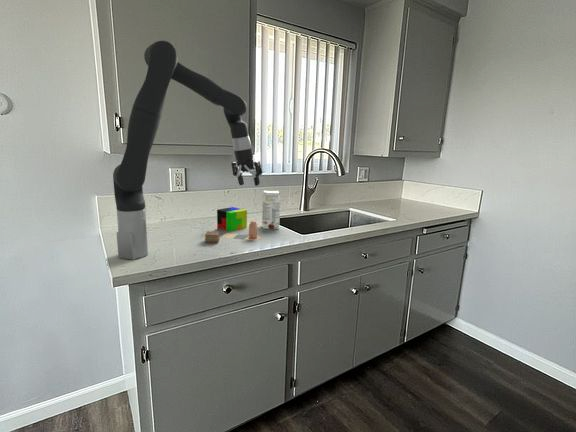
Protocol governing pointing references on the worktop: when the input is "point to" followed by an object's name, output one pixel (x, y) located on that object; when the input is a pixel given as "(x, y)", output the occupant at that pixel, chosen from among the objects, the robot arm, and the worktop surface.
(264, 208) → the white supplement bottle
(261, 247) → the worktop surface
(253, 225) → the pawn
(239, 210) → the puzzle toy
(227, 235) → the track
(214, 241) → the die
